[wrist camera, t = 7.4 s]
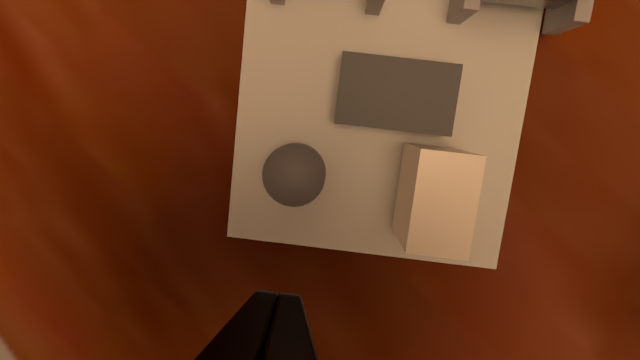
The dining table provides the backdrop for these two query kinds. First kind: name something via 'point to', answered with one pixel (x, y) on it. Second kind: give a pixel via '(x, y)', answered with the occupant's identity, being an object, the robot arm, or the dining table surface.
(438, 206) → the slider
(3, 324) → the dining table surface
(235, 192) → the panel
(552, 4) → the black lever
